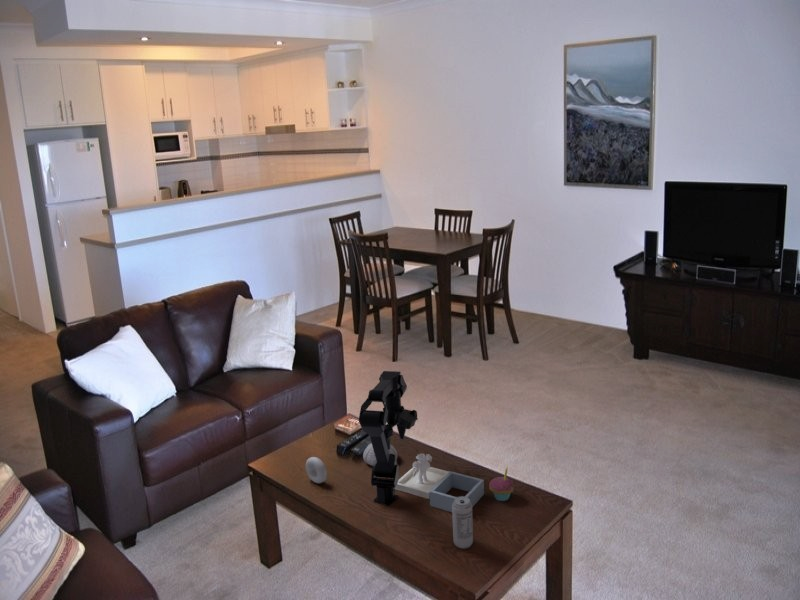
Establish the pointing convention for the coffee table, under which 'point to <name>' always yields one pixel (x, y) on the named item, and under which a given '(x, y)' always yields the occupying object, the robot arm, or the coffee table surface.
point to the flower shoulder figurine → (422, 467)
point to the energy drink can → (462, 522)
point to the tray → (411, 486)
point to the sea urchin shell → (370, 456)
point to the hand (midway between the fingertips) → (395, 444)
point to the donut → (321, 471)
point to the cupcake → (502, 487)
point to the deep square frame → (460, 482)
